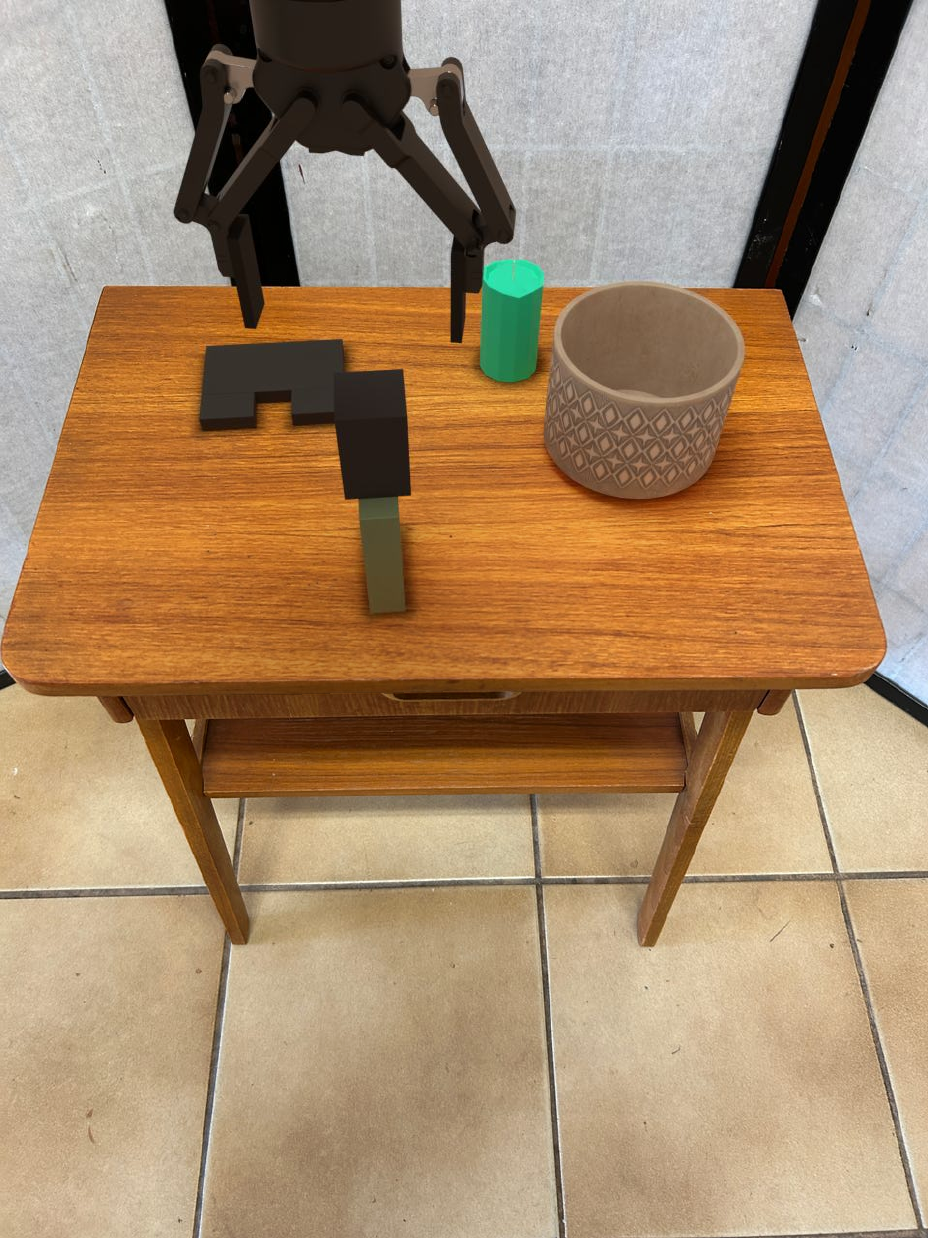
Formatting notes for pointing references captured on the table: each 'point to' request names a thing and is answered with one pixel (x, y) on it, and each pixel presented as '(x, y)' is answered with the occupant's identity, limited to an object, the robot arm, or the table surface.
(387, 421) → the black rectangular block
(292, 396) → the pad
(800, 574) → the table surface
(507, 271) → the candle
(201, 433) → the table surface
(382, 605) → the stand
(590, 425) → the planter
